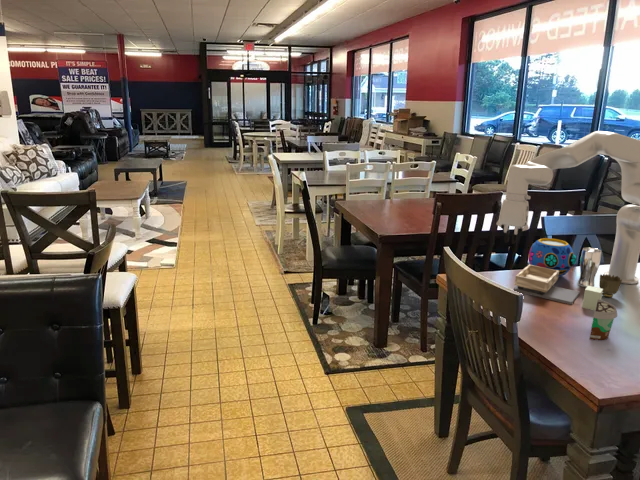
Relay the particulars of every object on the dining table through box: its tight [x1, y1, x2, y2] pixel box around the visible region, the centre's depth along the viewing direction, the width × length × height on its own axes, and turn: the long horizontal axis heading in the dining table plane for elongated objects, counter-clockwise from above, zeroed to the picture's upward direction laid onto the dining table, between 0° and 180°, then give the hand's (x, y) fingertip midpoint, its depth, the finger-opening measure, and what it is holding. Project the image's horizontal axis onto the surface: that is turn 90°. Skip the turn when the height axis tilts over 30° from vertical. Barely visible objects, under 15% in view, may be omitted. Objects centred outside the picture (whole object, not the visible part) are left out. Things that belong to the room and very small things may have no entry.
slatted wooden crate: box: [513, 263, 559, 295], centre depth 198 cm, size 18×12×6 cm, turn 143°
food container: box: [589, 299, 618, 342], centre depth 161 cm, size 12×6×10 cm, turn 148°
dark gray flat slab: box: [513, 285, 580, 306], centre depth 197 cm, size 13×21×1 cm, turn 53°
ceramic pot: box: [527, 237, 577, 278], centre depth 213 cm, size 18×18×15 cm
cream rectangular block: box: [581, 286, 603, 311], centre depth 183 cm, size 5×5×7 cm
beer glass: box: [577, 247, 602, 289], centre depth 203 cm, size 7×7×15 cm
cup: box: [598, 274, 622, 299], centre depth 193 cm, size 8×7×8 cm
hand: (510, 242), depth 201 cm, fingers closed
